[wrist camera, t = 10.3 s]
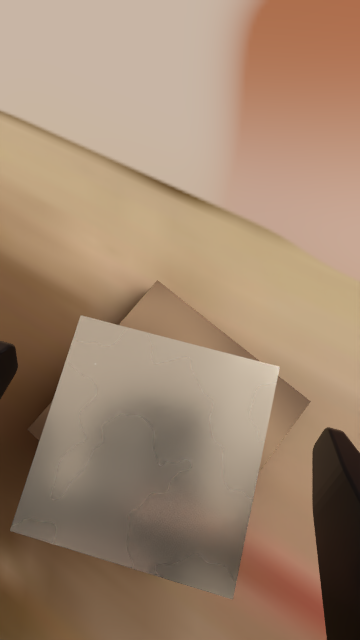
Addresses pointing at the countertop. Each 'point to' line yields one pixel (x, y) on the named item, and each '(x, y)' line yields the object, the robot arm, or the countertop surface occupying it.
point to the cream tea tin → (150, 455)
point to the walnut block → (191, 327)
